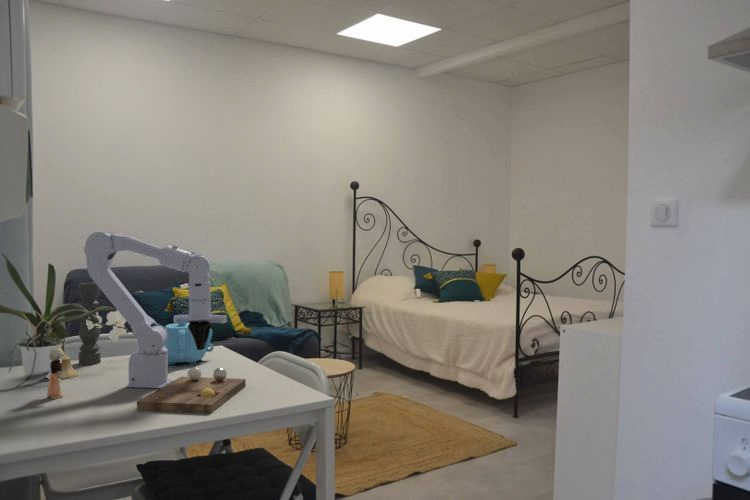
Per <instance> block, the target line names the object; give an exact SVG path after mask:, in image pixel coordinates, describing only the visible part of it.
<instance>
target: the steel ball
mask: <svg viewBox="0 0 750 500" xmlns="http://www.w3.org/2000/svg"><path fill="white" fill-rule="evenodd" d="M227 377H228V373H227V370H226V369H225V368H224V367H218V368H216V369H215V370H214V371H213V373H212V378H214V379H215V380H217V381H223V380H224V379H225V378H227Z"/></svg>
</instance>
